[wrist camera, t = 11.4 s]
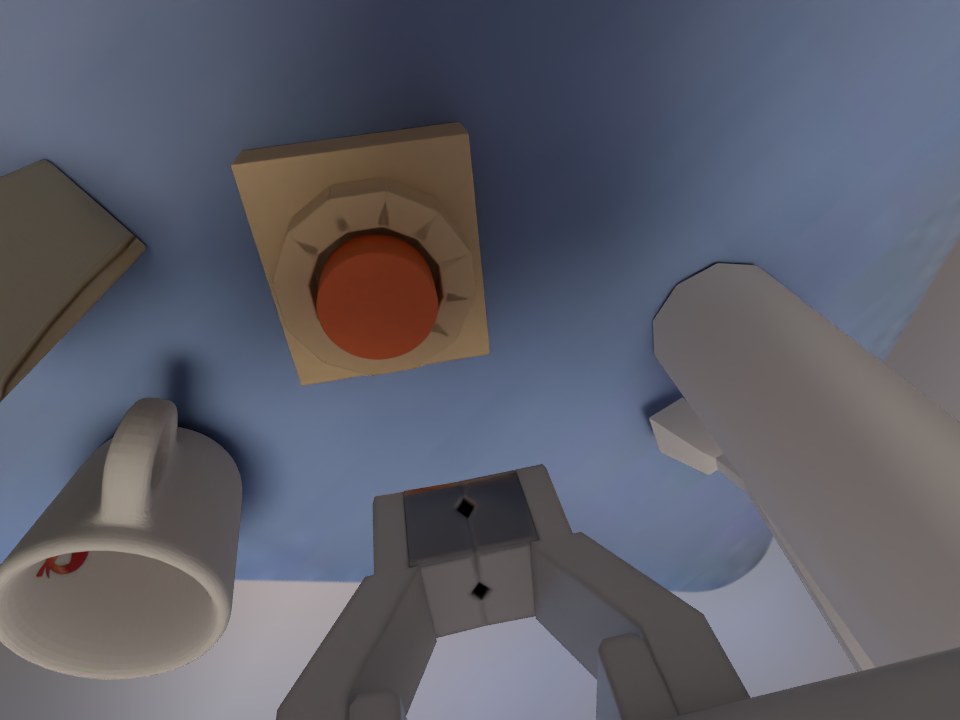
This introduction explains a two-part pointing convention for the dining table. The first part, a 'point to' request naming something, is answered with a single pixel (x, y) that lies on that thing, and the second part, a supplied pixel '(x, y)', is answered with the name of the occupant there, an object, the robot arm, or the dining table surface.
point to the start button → (377, 297)
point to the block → (362, 211)
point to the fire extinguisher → (820, 456)
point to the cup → (129, 555)
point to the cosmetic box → (51, 263)
